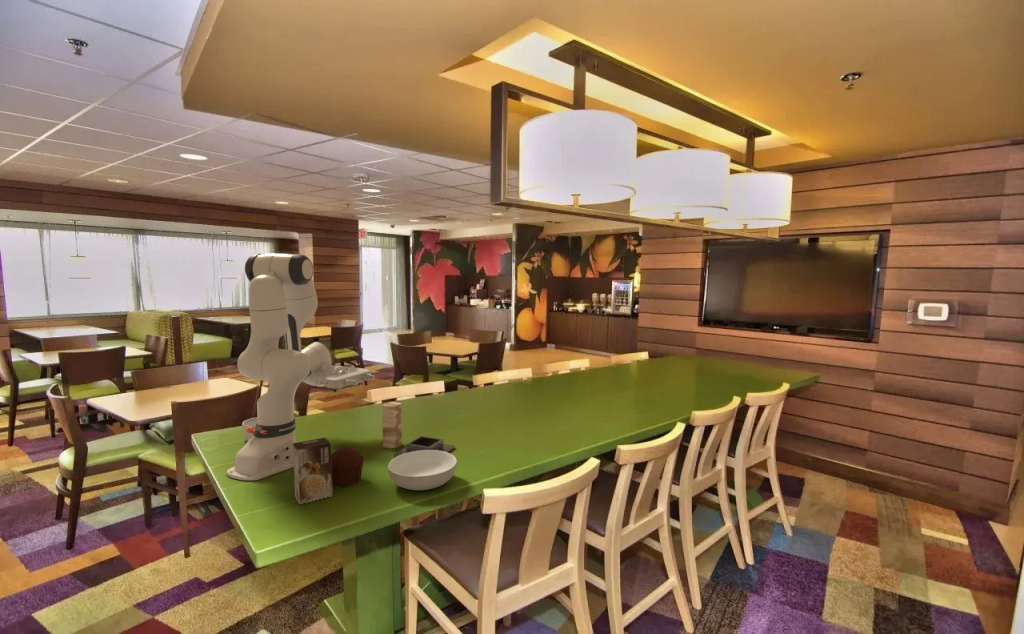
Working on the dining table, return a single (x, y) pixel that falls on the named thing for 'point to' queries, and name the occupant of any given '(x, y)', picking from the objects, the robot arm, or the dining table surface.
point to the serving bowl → (422, 469)
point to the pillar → (392, 424)
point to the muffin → (346, 466)
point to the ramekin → (249, 423)
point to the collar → (425, 445)
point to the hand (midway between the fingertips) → (365, 380)
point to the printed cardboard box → (312, 470)
